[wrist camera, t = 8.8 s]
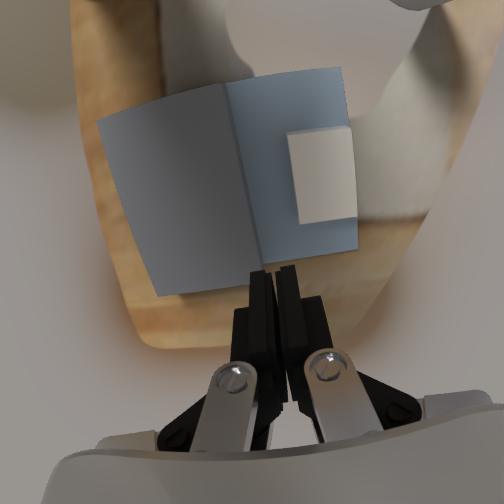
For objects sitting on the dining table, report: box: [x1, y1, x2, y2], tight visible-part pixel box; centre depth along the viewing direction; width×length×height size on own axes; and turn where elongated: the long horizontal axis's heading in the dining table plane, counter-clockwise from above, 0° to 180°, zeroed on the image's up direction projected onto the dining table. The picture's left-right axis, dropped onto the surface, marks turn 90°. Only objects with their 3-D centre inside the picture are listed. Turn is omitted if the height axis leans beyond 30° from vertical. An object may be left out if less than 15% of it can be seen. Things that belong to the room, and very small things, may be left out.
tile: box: [285, 125, 358, 225], centre depth 30 cm, size 9×6×2 cm, turn 10°
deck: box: [96, 83, 264, 297], centre depth 30 cm, size 20×12×4 cm, turn 11°
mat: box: [226, 67, 358, 264], centre depth 31 cm, size 20×11×1 cm, turn 11°
